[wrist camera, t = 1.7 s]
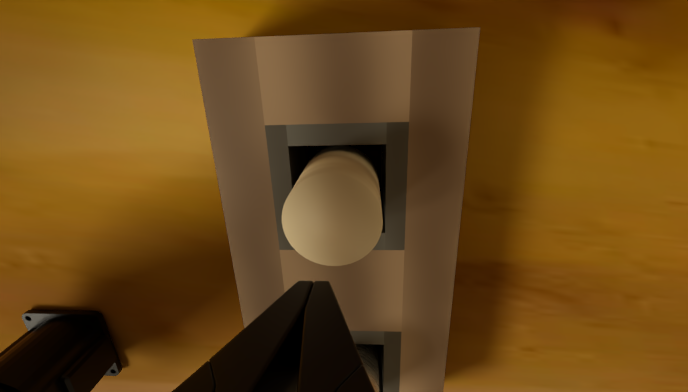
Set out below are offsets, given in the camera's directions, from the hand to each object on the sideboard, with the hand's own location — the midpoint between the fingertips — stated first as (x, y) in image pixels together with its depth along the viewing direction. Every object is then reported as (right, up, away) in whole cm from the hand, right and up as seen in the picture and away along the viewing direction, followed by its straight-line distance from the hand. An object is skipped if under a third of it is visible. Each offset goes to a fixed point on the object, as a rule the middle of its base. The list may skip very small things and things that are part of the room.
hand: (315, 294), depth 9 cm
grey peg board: (+1, -1, +14) cm, 14 cm away
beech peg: (+1, +3, +9) cm, 9 cm away
